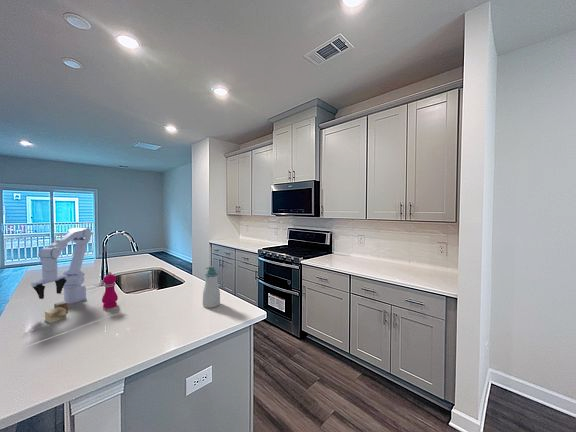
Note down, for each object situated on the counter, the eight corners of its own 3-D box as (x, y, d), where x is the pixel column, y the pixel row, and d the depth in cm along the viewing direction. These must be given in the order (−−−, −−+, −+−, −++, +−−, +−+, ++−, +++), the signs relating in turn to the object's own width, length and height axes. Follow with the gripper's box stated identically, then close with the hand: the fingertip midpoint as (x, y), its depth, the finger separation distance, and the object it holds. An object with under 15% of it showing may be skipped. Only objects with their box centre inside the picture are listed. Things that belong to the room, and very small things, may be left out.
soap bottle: (198, 306, 142) (199, 267, 141) (211, 300, 150) (211, 263, 149) (211, 309, 137) (211, 269, 136) (223, 303, 146) (223, 266, 145)
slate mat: (68, 308, 135) (68, 307, 135) (80, 313, 130) (80, 312, 130) (37, 317, 124) (37, 316, 124) (50, 323, 118) (50, 322, 118)
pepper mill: (109, 310, 134) (109, 274, 134) (98, 308, 136) (98, 273, 135) (120, 305, 141) (120, 270, 141) (110, 303, 143) (110, 269, 142)
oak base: (60, 314, 127) (60, 306, 127) (66, 316, 124) (66, 309, 124) (45, 319, 122) (44, 311, 121) (50, 321, 119) (50, 313, 119)
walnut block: (63, 309, 133) (63, 301, 133) (67, 310, 132) (67, 302, 131) (54, 312, 130) (54, 303, 130) (58, 313, 128) (57, 305, 128)
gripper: (60, 266, 136) (60, 290, 136) (26, 273, 122) (27, 300, 122) (69, 267, 134) (70, 291, 135) (36, 274, 120) (37, 301, 121)
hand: (50, 295), depth 128 cm, fingers open, 7 cm apart
